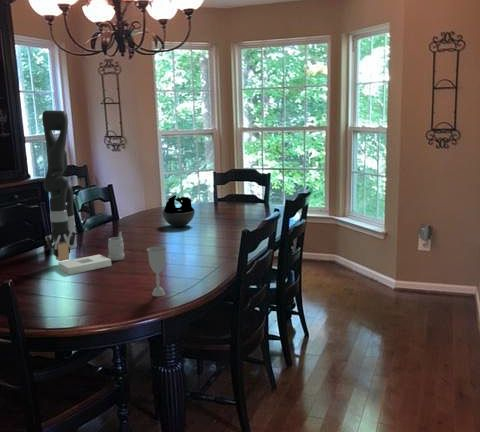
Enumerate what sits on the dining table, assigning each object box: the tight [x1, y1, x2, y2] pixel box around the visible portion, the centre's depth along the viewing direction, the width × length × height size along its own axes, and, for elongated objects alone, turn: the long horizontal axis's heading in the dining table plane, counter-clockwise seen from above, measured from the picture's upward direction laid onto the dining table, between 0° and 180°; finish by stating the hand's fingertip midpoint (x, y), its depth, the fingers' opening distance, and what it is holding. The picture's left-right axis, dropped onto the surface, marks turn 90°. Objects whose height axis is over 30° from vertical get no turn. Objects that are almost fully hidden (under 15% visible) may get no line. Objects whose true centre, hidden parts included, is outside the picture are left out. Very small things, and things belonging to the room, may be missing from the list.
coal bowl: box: [161, 194, 196, 228], centre depth 316 cm, size 20×20×19 cm
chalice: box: [146, 246, 167, 297], centre depth 196 cm, size 7×7×18 cm
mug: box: [107, 231, 126, 262], centre depth 249 cm, size 8×12×12 cm, turn 169°
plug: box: [55, 241, 70, 262], centre depth 238 cm, size 5×5×9 cm
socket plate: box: [57, 254, 112, 275], centre depth 235 cm, size 12×20×3 cm, turn 130°
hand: (62, 255), depth 239 cm, fingers closed on plug, 4 cm apart
